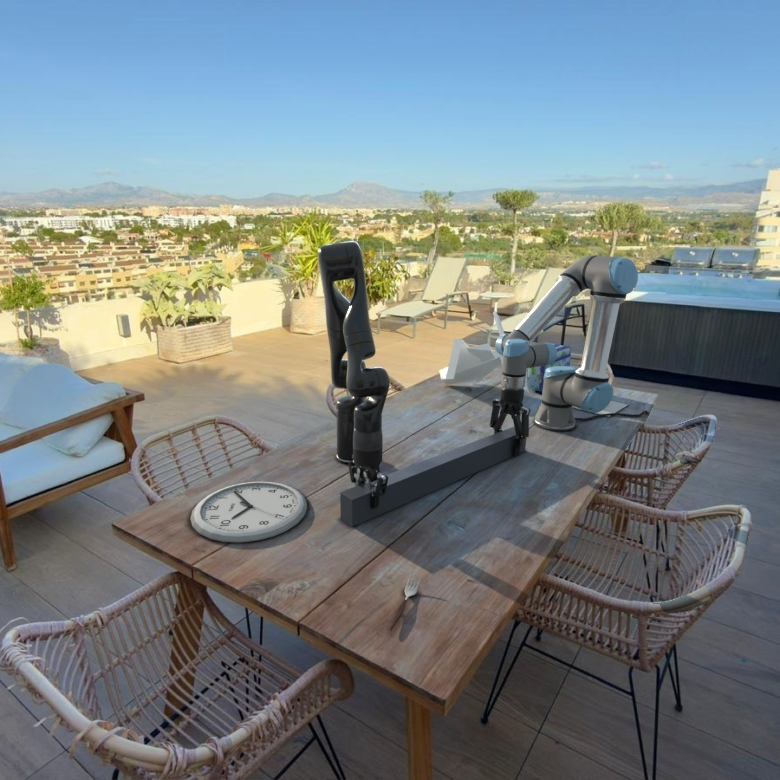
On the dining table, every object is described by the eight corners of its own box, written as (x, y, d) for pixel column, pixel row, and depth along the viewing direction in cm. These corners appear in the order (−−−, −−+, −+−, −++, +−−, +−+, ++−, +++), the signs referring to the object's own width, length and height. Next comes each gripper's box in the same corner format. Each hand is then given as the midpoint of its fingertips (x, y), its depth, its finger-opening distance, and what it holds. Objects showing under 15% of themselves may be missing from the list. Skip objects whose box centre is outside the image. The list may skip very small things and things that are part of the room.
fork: (383, 631, 98) (383, 622, 98) (409, 580, 113) (410, 572, 112) (396, 635, 98) (396, 626, 97) (421, 583, 112) (421, 575, 111)
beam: (513, 446, 183) (515, 426, 181) (525, 451, 180) (527, 430, 178) (340, 518, 136) (340, 492, 134) (352, 526, 133) (352, 499, 130)
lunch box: (542, 396, 239) (547, 351, 232) (522, 391, 246) (526, 347, 240) (570, 385, 256) (575, 343, 250) (550, 380, 263) (554, 339, 257)
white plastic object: (461, 429, 252) (437, 405, 227) (444, 352, 274) (420, 323, 250) (535, 404, 240) (518, 377, 215) (510, 326, 262) (492, 293, 237)
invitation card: (608, 416, 214) (573, 407, 224) (608, 416, 214) (573, 408, 224) (628, 404, 229) (594, 396, 238) (628, 405, 229) (594, 397, 238)
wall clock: (302, 534, 126) (174, 538, 123) (303, 540, 126) (175, 544, 124) (310, 477, 154) (206, 479, 152) (310, 482, 155) (206, 484, 152)
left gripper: (339, 439, 136) (340, 497, 141) (374, 457, 125) (373, 519, 131) (361, 432, 140) (361, 489, 146) (397, 449, 130) (396, 509, 135)
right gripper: (481, 382, 175) (476, 445, 182) (531, 396, 161) (524, 464, 168) (495, 378, 180) (490, 440, 186) (545, 392, 165) (538, 458, 172)
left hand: (367, 503), depth 138 cm, fingers closed on beam, 5 cm apart
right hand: (506, 451), depth 177 cm, fingers open, 7 cm apart
